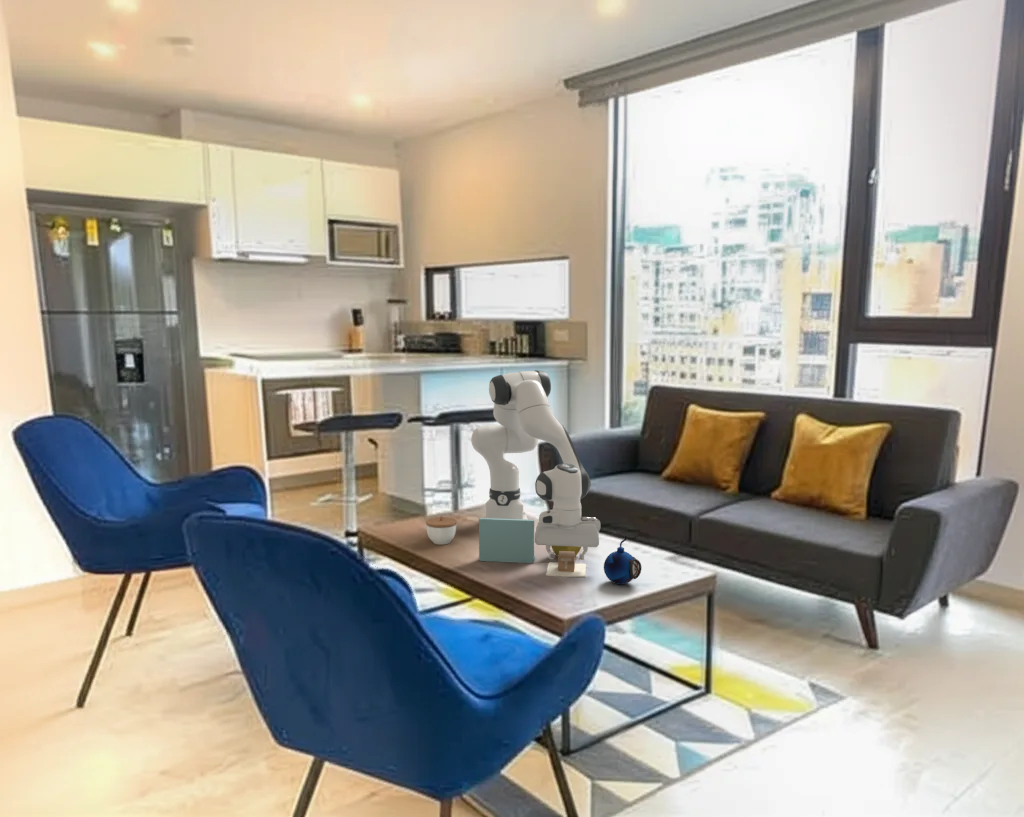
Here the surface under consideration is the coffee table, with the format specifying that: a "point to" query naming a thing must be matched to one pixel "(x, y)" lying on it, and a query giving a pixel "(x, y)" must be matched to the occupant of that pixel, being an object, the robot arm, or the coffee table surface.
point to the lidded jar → (441, 529)
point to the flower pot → (566, 549)
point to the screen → (506, 540)
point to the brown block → (566, 561)
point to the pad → (578, 572)
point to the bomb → (621, 566)
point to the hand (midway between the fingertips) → (566, 559)
